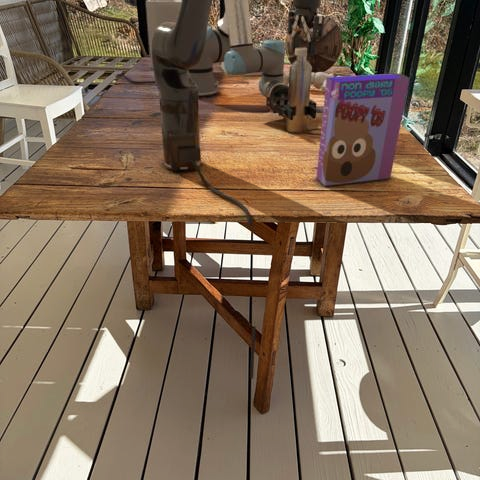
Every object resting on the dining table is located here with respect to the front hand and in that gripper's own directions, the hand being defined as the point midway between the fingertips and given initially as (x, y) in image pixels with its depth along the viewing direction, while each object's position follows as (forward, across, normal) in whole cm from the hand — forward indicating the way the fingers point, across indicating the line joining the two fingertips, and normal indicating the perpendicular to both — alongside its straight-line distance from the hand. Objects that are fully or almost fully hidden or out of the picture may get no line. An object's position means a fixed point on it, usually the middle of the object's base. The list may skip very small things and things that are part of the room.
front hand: (302, 53), depth 136 cm
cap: (-1, 0, 0) cm, 1 cm away
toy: (+22, +36, -36) cm, 56 cm away
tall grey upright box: (+22, +105, -1) cm, 107 cm away
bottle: (+22, 0, 0) cm, 22 cm away
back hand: (+16, -5, +1) cm, 17 cm away
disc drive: (+22, +79, -28) cm, 87 cm away
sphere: (+22, +63, -51) cm, 84 cm away
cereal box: (+23, -37, +9) cm, 45 cm away
